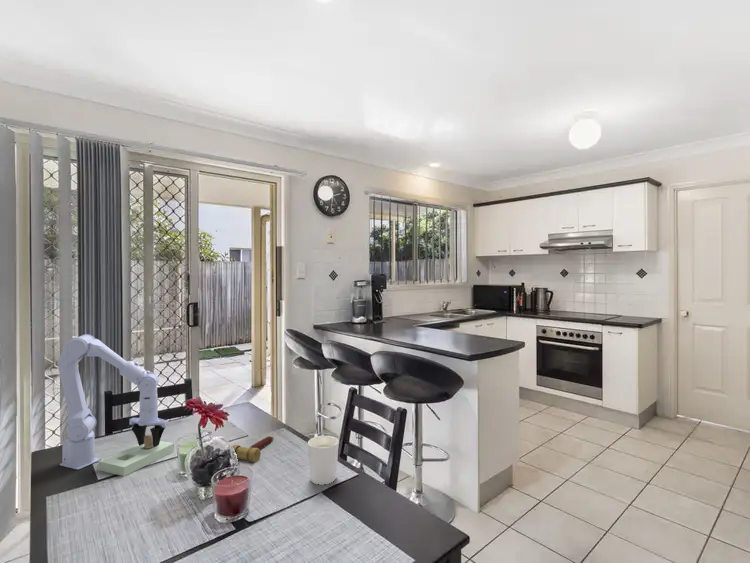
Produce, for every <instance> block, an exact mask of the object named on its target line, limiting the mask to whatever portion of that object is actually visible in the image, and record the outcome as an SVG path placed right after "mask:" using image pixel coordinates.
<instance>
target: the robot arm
mask: <svg viewBox="0 0 750 563" xmlns="http://www.w3.org/2000/svg"><path fill="white" fill-rule="evenodd" d="M84 356H86V357H99V358H100V359H102V360H103V361H105V362H106V363H109V364H111V365H112V366H114V367H115V368H117V369H118V370H119V375H120V376H122V377H123V378H124V379H127V380H128V381H129V382H131V383H132V384H134V385H136V386H137V389H138V391H139V417H132V418H129V424H128V425H131V428H130V429H131V431H132V432H133V433H134V434H133V435H135V438H136V441H137V444H139V446H141V445H143V444H144V436H146V431H147V426H150V427H151V426H152V428H150V430H149V431H150V433H151V434H152V438H153V447H156V446H158V445H159V443H160V441H161V438H162V436H163V433H164V430H165V429H166V428H167V427H169V420H166V419H162V418H159V417H158V416H159V414H158V413H159V412H158V410H159V406H158V405H159V404H158V402H159V401H158V387H157V385H158V384H159V382H160V381H159V380H160V379H159V377H158V375H157V374H156V373H155V372H151V371H150V370H146V369H145V368H143V367H142V366H140V363H139V362H138V361H133V360H129V361H128V360H126V359H124V358H123V357H121V356H120V355H119V354H118V353H116V352H115V351H113V350H112V349H111V348H109V346H108V345H106V344H104V343H103V342H102V340H100V339H98V338H95V337H94V336H93V335H91V334H80V336H77V337H74V338H71V339H70V340H69V341H68V342H67V343H66V344H64V345H63V346H62V352H61V353H60V355H59V358H58V361H57V368H58V373H59V377H60V381H61V385H62V390H63V394H64V399H65V402H66V406H67V410H68V417H67V419H66V420H67V421H66V424H67V429H66V431H65V433H66V434H65V435H66V437H67V438H66V439H65V440H64V441H63V444H62V448H61V450H62V451H61V452H62V455H61V456H62V462H61V463H59V465H60V466H61V467H64V468H65V467H66V468H69V469H73V470H78V471H79V470H81V469H83V468H86V467H88V466H90V465H92V464H95V463H97V462H98V461H100V460H102V459H101V457H95V456H96V454H95V447H96V446H95V442H96V441H95V439H96V438H95V432H94V431H93V430H94V429H95V427H96V426H97V419H96V417H95V416H94V415H93V414H92V411H91V409H90V408H88V406H87V402H86V396H85V392H84V388H83V383H82V379H81V375H80V372H79V366H78V364H79V362H81V360H82V359H83V358H84Z"/></svg>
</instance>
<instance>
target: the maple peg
mask: <svg viewBox="0 0 750 563" xmlns="http://www.w3.org/2000/svg"><path fill="white" fill-rule="evenodd" d="M152 448H154V447H153V438H152V433H151V434H149V433H148V434H145V436H144V449H145V450H150V449H152Z"/></svg>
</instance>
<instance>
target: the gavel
mask: <svg viewBox="0 0 750 563" xmlns="http://www.w3.org/2000/svg"><path fill="white" fill-rule="evenodd" d="M273 440H274V436H266V437H264V438H263V439H261V440H259V441H258V442H257V441H256V442H255V443H254V444H252V445H250V446H249V447H244V446H241V445H236V444H234V445H232V446H231V448H232V447H233V448H234V450H235V452H236V454H237V457H238V458H237V459H238V460H243V461H244V460H245V461H249V462H251V463H256V462H258V461H259V460H260V457H261V449H262V448H264V447H266V446H267V445H269V444H270V442H271V443H272V441H273ZM268 443H269V444H268Z"/></svg>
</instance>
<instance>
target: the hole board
mask: <svg viewBox="0 0 750 563" xmlns="http://www.w3.org/2000/svg"><path fill="white" fill-rule="evenodd" d="M174 452H175V444H174V443H173V442H168V441H163V440H160V443H159V445H158V446H156V447H154V448H152V449H150V450H145V449H144V444H143V445H141V446H139V444H138V443H137V444H135V445H132V446H130V447H128V448H127V447H126V448H125V449H122V450H121V451H119V452H116V453H114V454H112V455H110V456H107V457H105V458H103V459H101V460H100V461H97V462H98V463H97V466H98V467H97V471H99V472H100V471H101V472H104V473H108V474H113V475H116V476H121V477H126V476H128V475H130V474H132V473H134V472H136V471H138V470H140V469H142V468H144V467H146V466H147V465H150V464H152V463H154V462H157V461H158V460H160V459H163V458H164V457H165V456H168V455H170V454H172V453H174Z"/></svg>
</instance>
